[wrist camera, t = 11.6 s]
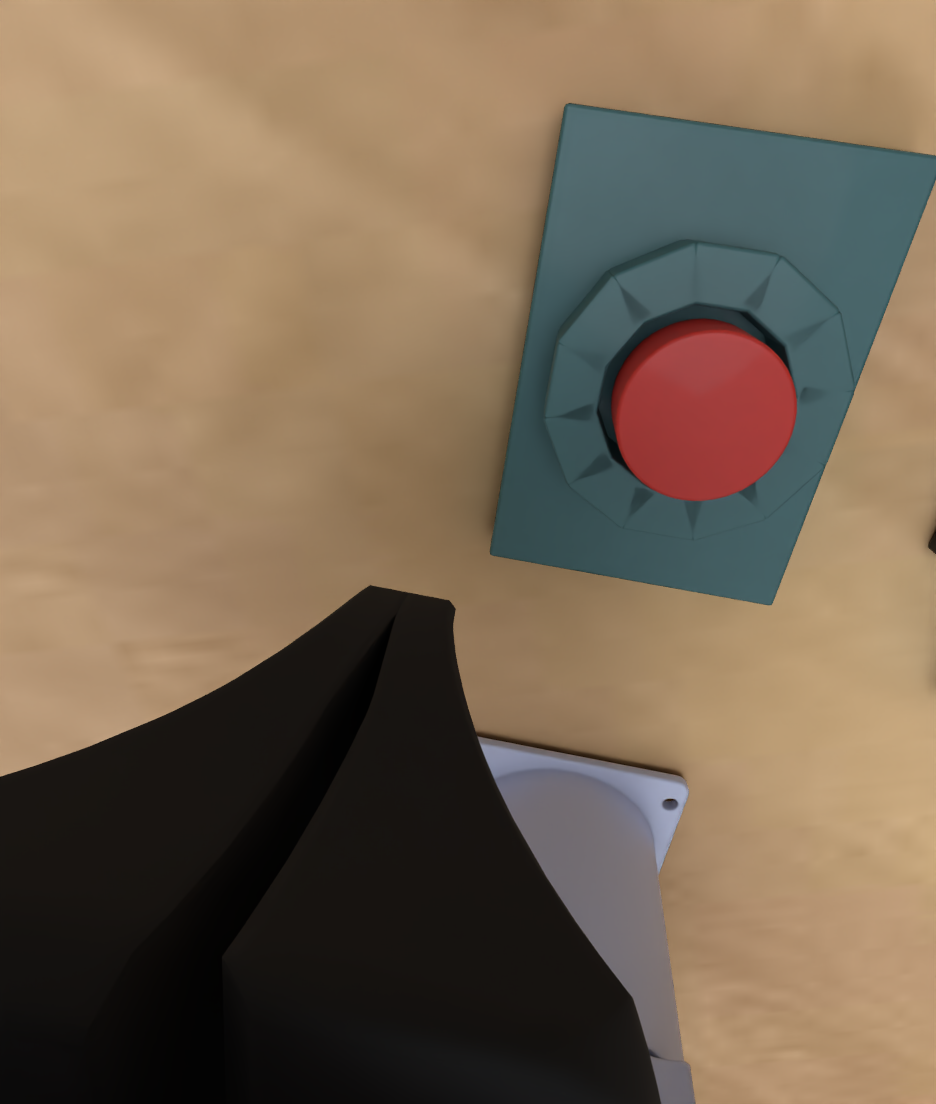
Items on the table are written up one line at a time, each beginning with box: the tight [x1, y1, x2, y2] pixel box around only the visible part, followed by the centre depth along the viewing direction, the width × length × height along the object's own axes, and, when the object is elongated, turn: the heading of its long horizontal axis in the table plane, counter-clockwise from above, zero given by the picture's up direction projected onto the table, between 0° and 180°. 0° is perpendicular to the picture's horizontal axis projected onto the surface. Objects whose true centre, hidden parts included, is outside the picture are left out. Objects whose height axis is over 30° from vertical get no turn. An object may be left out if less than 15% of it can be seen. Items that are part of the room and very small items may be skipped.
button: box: [611, 319, 797, 501], centre depth 15 cm, size 4×4×2 cm
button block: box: [490, 103, 936, 605], centre depth 17 cm, size 11×8×3 cm
